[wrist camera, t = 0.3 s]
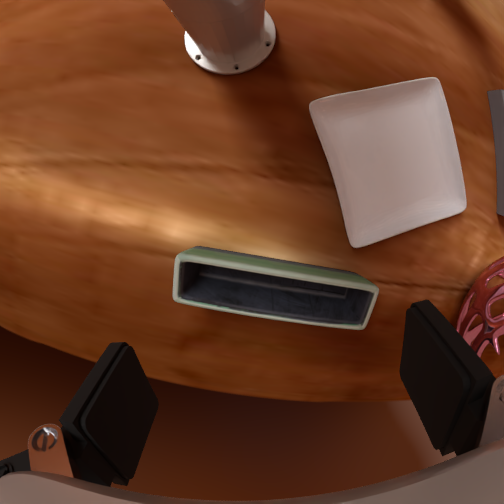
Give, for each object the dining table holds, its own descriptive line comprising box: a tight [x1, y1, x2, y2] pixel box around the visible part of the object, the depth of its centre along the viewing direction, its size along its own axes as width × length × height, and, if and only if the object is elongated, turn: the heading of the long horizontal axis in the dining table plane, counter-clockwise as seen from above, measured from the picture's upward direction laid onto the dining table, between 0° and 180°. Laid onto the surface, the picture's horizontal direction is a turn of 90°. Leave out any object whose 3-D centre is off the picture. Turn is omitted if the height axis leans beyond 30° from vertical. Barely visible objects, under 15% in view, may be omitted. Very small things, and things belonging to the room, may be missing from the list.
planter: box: [173, 246, 379, 330], centre depth 42 cm, size 28×7×7 cm, turn 80°
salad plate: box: [309, 77, 467, 248], centre depth 38 cm, size 21×21×3 cm
